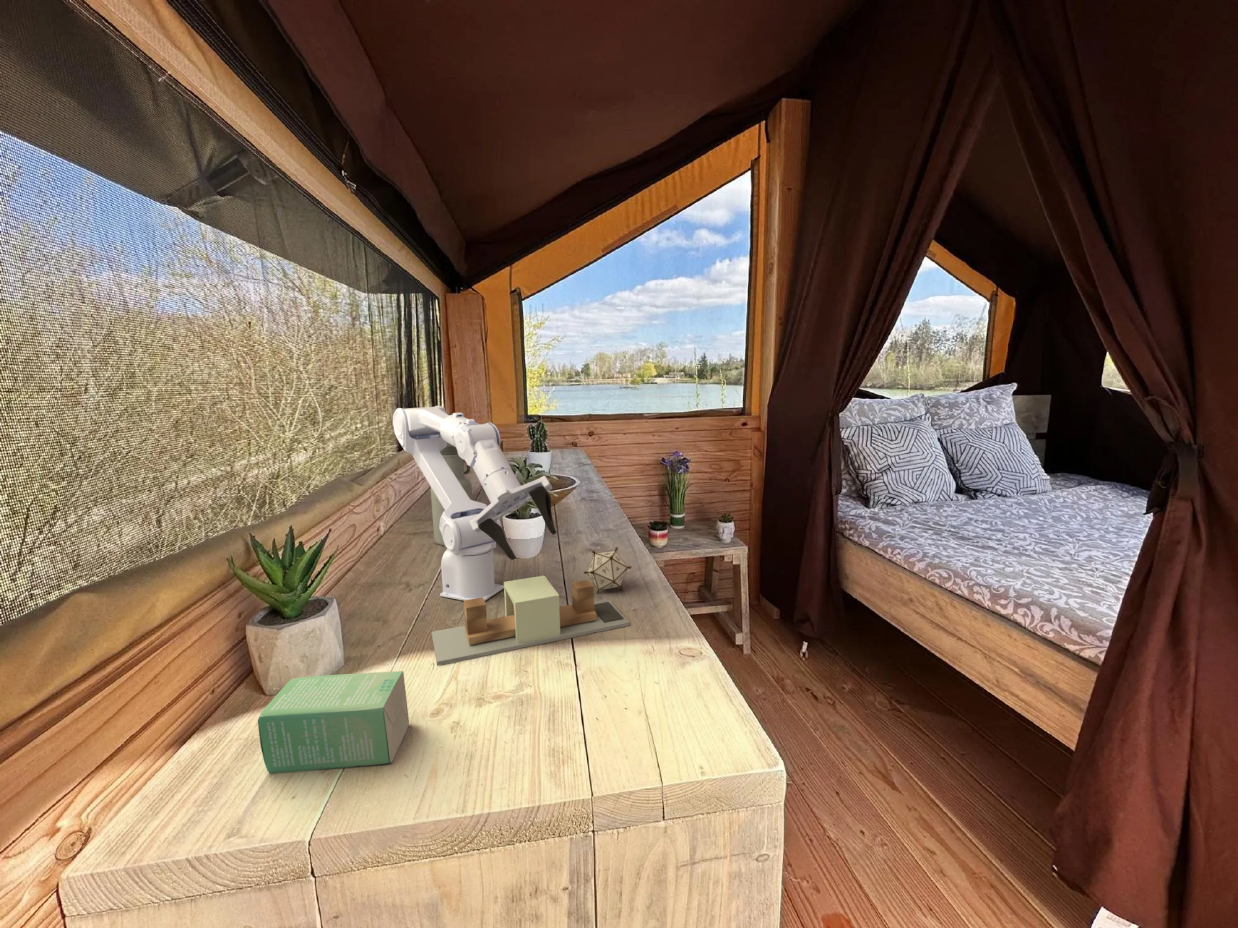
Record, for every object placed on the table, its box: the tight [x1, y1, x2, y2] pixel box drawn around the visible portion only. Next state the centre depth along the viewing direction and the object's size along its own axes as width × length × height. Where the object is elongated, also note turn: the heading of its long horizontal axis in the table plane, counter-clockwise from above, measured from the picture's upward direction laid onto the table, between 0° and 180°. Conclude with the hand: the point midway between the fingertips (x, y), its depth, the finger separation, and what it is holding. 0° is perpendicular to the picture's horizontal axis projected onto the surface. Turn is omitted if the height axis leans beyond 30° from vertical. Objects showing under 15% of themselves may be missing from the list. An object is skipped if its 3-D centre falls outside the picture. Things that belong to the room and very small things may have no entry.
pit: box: [594, 602, 623, 623], centre depth 95 cm, size 4×7×1 cm, turn 23°
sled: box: [463, 579, 597, 645], centre depth 90 cm, size 21×5×6 cm, turn 113°
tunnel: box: [503, 575, 560, 644], centre depth 90 cm, size 7×9×7 cm
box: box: [257, 670, 410, 774], centre depth 62 cm, size 7×14×8 cm, turn 95°
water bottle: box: [430, 442, 474, 547], centre depth 135 cm, size 10×10×28 cm
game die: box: [583, 546, 633, 594], centre depth 106 cm, size 9×8×10 cm
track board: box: [431, 599, 631, 666], centre depth 90 cm, size 31×10×1 cm, turn 113°
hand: (532, 544), depth 87 cm, fingers open, 7 cm apart
